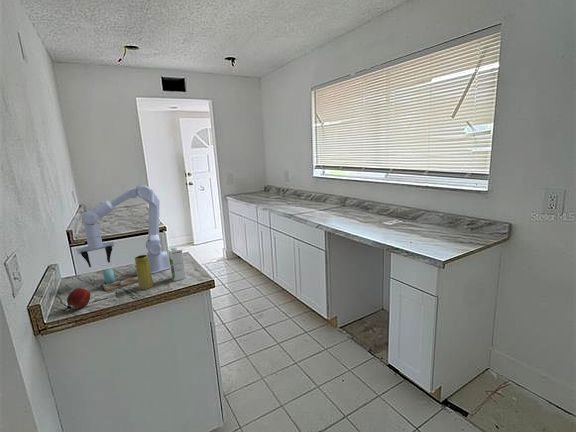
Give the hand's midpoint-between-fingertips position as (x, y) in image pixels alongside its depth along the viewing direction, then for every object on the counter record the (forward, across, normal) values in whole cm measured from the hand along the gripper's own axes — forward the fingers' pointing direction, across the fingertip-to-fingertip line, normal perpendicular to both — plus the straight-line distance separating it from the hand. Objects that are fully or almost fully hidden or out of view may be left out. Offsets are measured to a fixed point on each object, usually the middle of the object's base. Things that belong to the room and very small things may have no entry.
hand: (99, 264), depth 141 cm
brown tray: (+9, -6, +7) cm, 13 cm away
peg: (+9, -2, +7) cm, 11 cm away
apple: (+10, +11, +21) cm, 26 cm away
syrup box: (+10, -28, +23) cm, 37 cm away
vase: (+10, -14, +21) cm, 27 cm away
